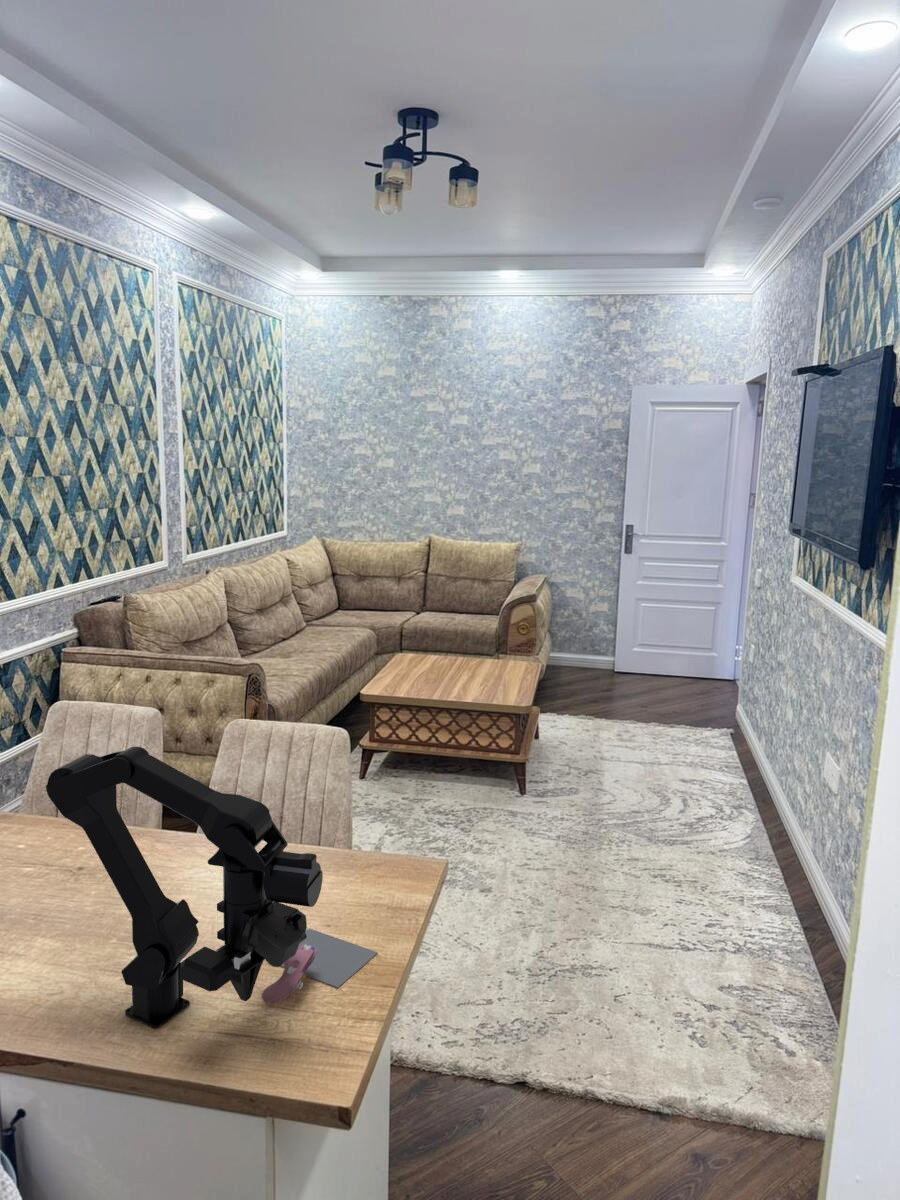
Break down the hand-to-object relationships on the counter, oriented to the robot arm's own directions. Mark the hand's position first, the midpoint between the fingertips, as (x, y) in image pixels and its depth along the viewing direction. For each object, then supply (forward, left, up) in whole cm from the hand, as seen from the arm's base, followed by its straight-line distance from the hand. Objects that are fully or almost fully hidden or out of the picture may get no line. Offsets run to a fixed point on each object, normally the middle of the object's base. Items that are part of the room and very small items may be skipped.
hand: (245, 999), depth 118 cm
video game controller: (+10, 0, -4) cm, 11 cm away
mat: (+19, +1, -4) cm, 19 cm away
